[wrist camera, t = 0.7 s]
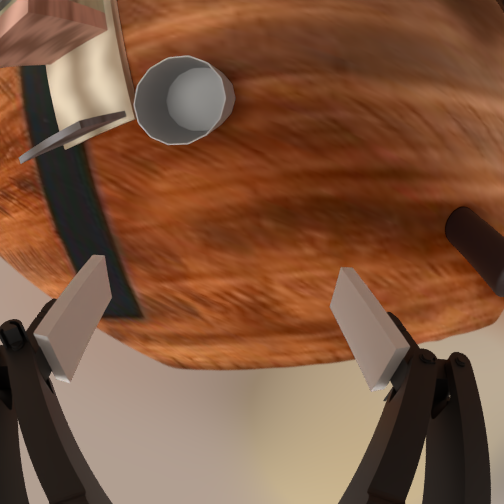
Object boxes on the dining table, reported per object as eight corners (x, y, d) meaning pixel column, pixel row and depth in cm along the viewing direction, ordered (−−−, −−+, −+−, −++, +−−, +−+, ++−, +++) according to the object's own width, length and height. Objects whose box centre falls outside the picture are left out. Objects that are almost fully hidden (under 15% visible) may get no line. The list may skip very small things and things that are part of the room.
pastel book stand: (113, -24, 18) (41, -61, 3) (140, 117, 30) (57, 143, 15) (48, 16, 19) (-31, 9, 5) (72, 146, 31) (-12, 189, 17)
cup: (154, 96, 29) (117, 99, 20) (206, 54, 26) (185, 38, 17) (195, 144, 32) (172, 163, 24) (249, 104, 29) (245, 106, 21)
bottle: (450, 249, 39) (513, 328, 22) (439, 222, 36) (514, 303, 19) (476, 226, 36) (544, 297, 19) (466, 198, 34) (547, 267, 17)
